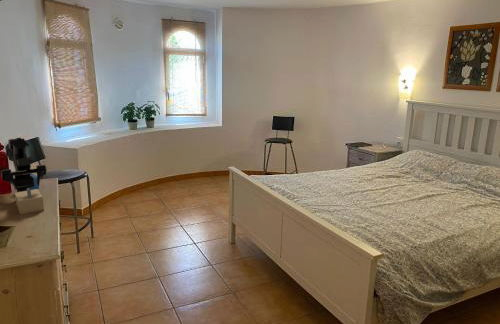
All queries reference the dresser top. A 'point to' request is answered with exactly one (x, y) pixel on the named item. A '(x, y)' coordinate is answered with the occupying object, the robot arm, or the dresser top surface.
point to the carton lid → (28, 195)
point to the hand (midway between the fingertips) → (27, 187)
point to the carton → (30, 206)
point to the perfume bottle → (34, 182)
